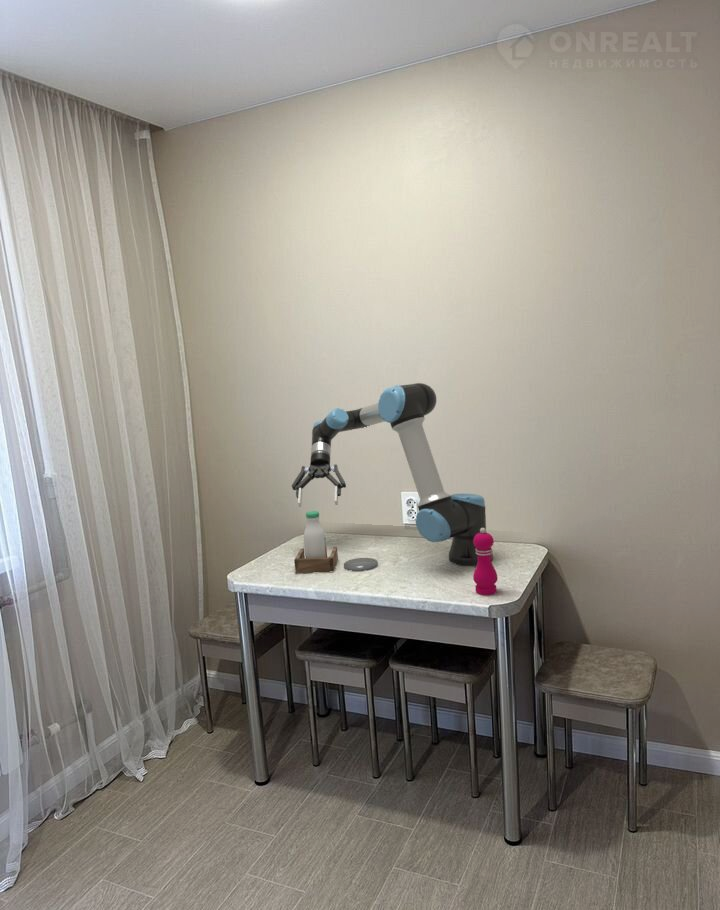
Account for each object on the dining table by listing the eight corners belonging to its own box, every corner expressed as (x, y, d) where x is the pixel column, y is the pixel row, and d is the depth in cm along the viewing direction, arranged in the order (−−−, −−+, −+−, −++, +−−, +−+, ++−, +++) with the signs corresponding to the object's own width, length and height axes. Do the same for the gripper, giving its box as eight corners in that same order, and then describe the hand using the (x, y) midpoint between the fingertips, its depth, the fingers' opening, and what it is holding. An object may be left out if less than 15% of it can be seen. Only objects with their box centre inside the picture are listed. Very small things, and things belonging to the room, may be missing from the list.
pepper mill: (471, 595, 212) (468, 530, 209) (476, 586, 218) (473, 524, 215) (495, 596, 209) (492, 531, 206) (500, 588, 216) (497, 524, 213)
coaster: (383, 566, 245) (383, 563, 245) (352, 573, 240) (352, 570, 240) (368, 558, 256) (368, 555, 256) (338, 564, 251) (338, 562, 251)
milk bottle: (325, 570, 246) (320, 514, 243) (303, 570, 248) (298, 515, 245) (330, 563, 254) (325, 509, 250) (309, 563, 255) (304, 509, 252)
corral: (333, 572, 243) (332, 558, 243) (295, 573, 245) (294, 560, 244) (338, 559, 257) (336, 546, 256) (301, 561, 258) (300, 548, 257)
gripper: (353, 460, 273) (352, 507, 261) (290, 463, 276) (286, 510, 263) (351, 449, 267) (350, 496, 255) (286, 452, 269) (282, 500, 257)
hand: (317, 503), depth 259 cm, fingers open, 13 cm apart
